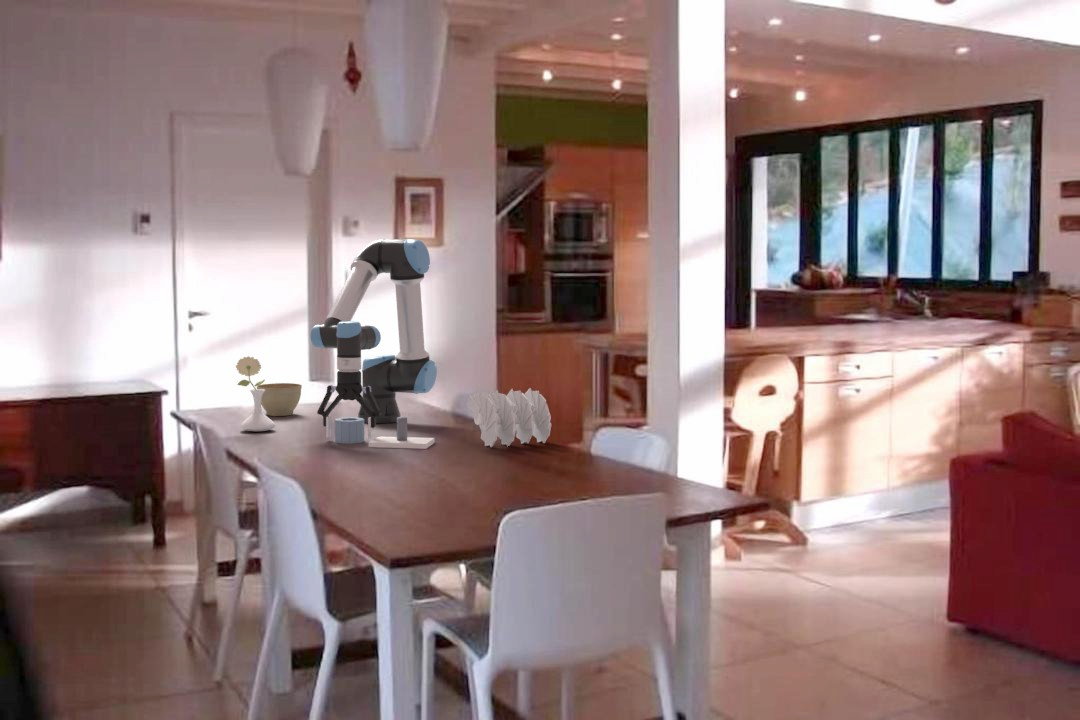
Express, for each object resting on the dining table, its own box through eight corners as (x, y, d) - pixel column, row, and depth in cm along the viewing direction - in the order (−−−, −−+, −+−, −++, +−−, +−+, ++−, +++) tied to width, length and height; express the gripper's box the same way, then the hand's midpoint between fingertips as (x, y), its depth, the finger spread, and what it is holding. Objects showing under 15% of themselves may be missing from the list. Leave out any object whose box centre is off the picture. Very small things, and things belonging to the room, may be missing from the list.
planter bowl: (253, 413, 440) (252, 384, 439) (296, 411, 446) (295, 382, 446) (262, 418, 425) (261, 388, 424) (306, 416, 432) (306, 386, 431)
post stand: (378, 441, 376) (378, 414, 375) (434, 442, 374) (434, 415, 373) (368, 447, 364) (368, 419, 363) (426, 448, 362) (426, 421, 361)
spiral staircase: (552, 456, 373) (481, 459, 361) (529, 426, 386) (460, 427, 374) (567, 407, 365) (495, 408, 353) (543, 378, 378) (473, 377, 366)
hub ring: (339, 438, 380) (339, 417, 379) (367, 439, 379) (367, 417, 378) (331, 443, 371) (331, 420, 371) (359, 443, 370) (359, 421, 369)
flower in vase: (280, 429, 401) (279, 355, 398) (269, 434, 389) (268, 358, 387) (242, 428, 402) (241, 354, 400) (230, 433, 391) (229, 357, 388)
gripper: (307, 370, 371) (307, 438, 373) (384, 372, 368) (384, 440, 370) (314, 368, 378) (315, 434, 380) (390, 370, 375) (391, 436, 377)
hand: (349, 437), depth 375 cm, fingers open, 13 cm apart
